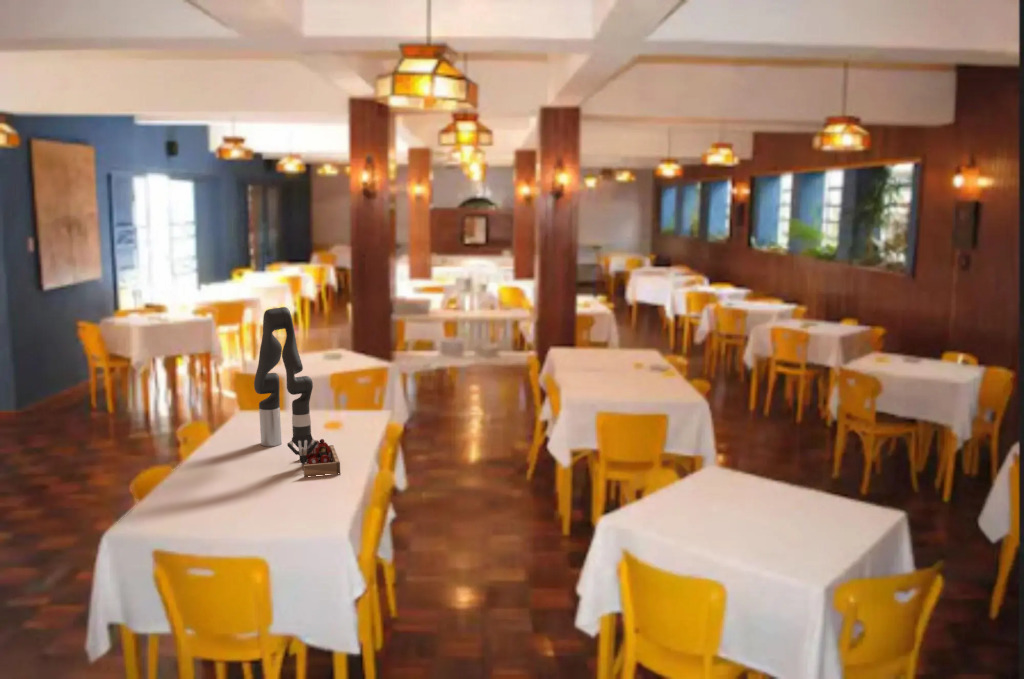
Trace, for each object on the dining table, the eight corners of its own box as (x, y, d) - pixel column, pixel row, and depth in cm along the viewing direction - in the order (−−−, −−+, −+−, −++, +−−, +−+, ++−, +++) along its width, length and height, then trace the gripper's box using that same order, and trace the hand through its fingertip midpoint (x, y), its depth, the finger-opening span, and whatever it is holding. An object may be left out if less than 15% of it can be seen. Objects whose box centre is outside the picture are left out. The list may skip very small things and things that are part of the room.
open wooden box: (299, 459, 396) (299, 448, 395) (333, 456, 400) (333, 445, 399) (304, 477, 370) (303, 465, 370) (340, 474, 374) (339, 462, 374)
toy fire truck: (334, 463, 390) (333, 439, 388) (305, 467, 384) (304, 444, 382) (329, 459, 396) (328, 436, 394) (301, 463, 390) (299, 440, 388)
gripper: (316, 420, 386) (318, 459, 389) (284, 422, 382) (286, 462, 385) (318, 424, 379) (320, 464, 382) (285, 427, 375) (287, 467, 378)
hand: (303, 463), depth 383 cm, fingers closed
